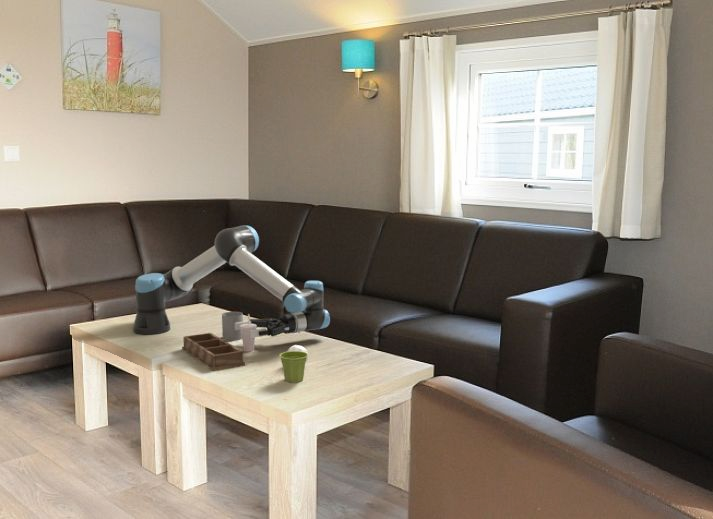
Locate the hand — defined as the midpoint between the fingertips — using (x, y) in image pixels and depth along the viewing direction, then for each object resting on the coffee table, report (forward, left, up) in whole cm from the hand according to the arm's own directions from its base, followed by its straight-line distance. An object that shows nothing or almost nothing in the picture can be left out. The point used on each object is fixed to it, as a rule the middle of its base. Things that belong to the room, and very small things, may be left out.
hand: (242, 330), depth 275 cm
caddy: (+1, -12, -8) cm, 15 cm away
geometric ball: (+28, +8, -8) cm, 30 cm away
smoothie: (0, +2, -8) cm, 9 cm away
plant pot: (+41, 0, -8) cm, 42 cm away
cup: (-20, +4, -8) cm, 22 cm away
